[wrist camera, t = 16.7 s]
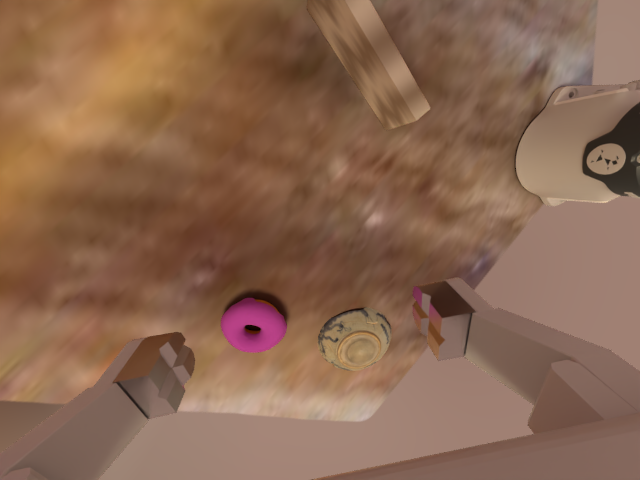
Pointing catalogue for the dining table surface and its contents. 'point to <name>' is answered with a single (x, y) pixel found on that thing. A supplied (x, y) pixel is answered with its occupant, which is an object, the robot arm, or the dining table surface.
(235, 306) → the donut
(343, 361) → the decorative bowl
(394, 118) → the wooden block
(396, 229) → the dining table surface
